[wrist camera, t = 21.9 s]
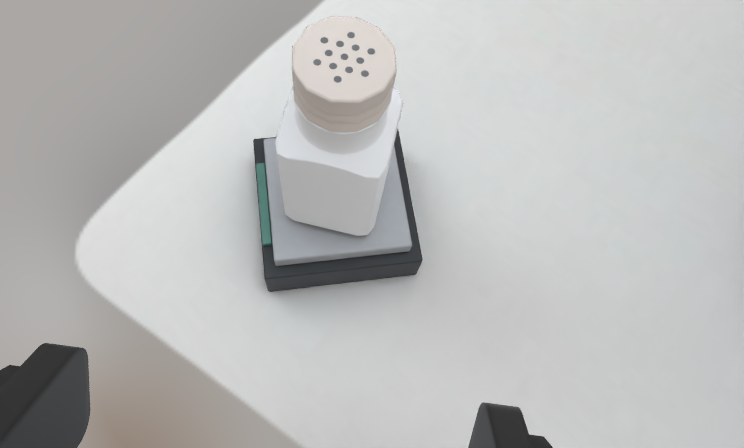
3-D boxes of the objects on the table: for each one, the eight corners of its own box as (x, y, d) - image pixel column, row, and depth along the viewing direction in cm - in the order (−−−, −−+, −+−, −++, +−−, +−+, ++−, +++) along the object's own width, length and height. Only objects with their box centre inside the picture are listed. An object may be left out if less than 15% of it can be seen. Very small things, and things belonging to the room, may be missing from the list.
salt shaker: (304, 144, 27) (297, -9, 19) (389, 164, 27) (422, 21, 19) (280, 222, 26) (259, 95, 17) (370, 244, 26) (395, 128, 17)
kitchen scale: (268, 292, 27) (262, 273, 25) (257, 158, 30) (251, 129, 27) (416, 274, 28) (425, 255, 26) (393, 146, 31) (400, 117, 28)
